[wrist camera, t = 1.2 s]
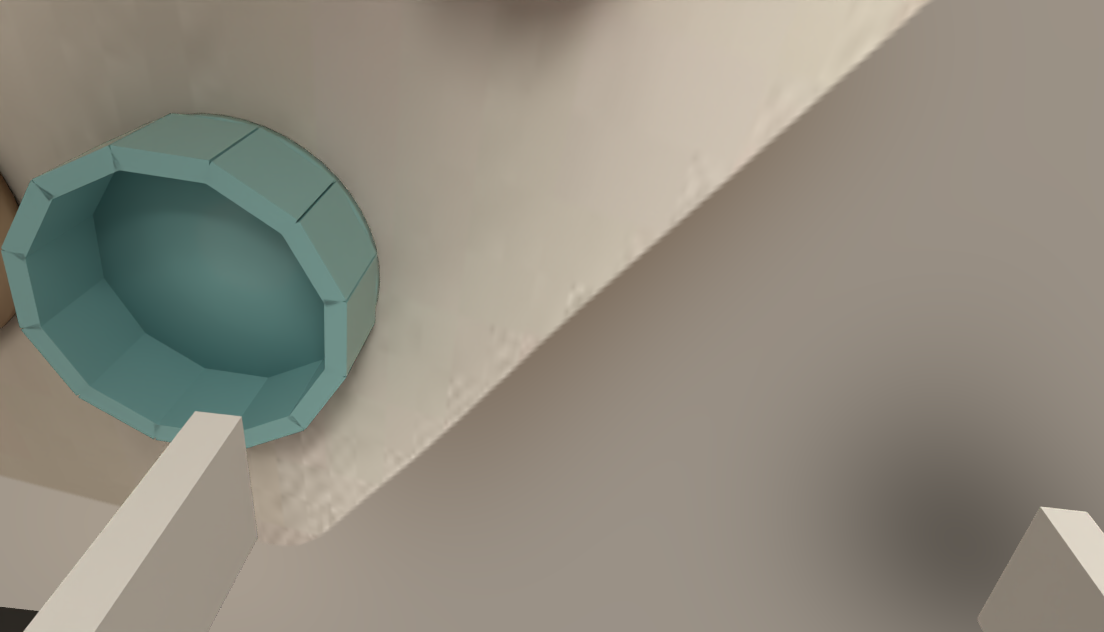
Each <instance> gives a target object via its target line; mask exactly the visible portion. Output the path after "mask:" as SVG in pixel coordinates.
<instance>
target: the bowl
mask: <svg viewBox="0 0 1104 632" xmlns="http://www.w3.org/2000/svg"><path fill="white" fill-rule="evenodd" d="M1 249H2V250H1V253H2V257H3V261H4V265H5V269H6V273H7V278H8V282H9V286H10V290H11V294H12V298H13V302H14V306H15V310H16V314H17V318H18V322H19V327H20V328H23V329H21V330H22V332H23V333H24V334H25V335H26V336H27V338H28V339H29V340H30V341H31V342H32V343H33V345H34V346H35V347H36V348H37V349H38V351H39V352H40V353H41V354H42V355H43V357H44V358H45V359H46V360H47V361H48V363H49V364H50V365H51V366H52V367H53V368H54V370H55V371H56V372H57V373H58V374H59V376H60V377H61V378H62V379H63V380H64V382H65V383H66V384H67V385H68V386H69V388H70V389H71V390H72V391H73V392H74V393H75V395H76V396H77V395H79V398H81V399H82V400H84V401H86V402H88V403H90V404H91V405H93V406H95V407H97V408H98V409H100V410H102V411H104V412H106V413H107V414H109V415H111V416H113V417H115V418H116V419H118V420H120V421H122V422H124V423H125V424H127V425H129V426H131V427H133V428H134V429H136V430H138V431H140V432H142V433H143V434H145V435H147V436H149V437H151V438H152V439H154V438H156V440H160V441H166V442H172V440H173V439H174V438H175V436H176V435H177V434H178V433H179V431H180V430H181V429H182V427H183V426H184V425H185V424H186V422H187V421H188V420H189V418H190V417H191V416H192V415H193V413H194V412H195V411H198V412H207V413H216V414H225V415H234V416H242V422H243V430H244V437H245V445H246V448H249V447H252V446H255V445H259V444H262V443H265V442H268V441H272V440H275V439H278V438H281V437H284V436H288V435H291V434H294V433H297V432H300V431H304V429H306V428H307V427H308V425H309V424H310V423H311V422H312V420H313V419H314V418H315V417H316V415H317V414H318V413H319V411H320V410H321V409H322V408H323V406H324V405H325V404H326V403H327V401H328V400H329V399H330V398H331V396H332V395H333V394H334V392H335V391H336V390H337V389H338V387H339V386H340V385H341V384H342V382H343V381H344V380H345V379H346V377H347V375H348V373H349V371H350V369H351V367H352V365H353V364H354V362H355V360H356V358H357V356H358V354H359V352H360V350H361V348H362V346H363V345H364V343H365V341H366V339H367V337H368V335H369V333H370V331H371V329H372V327H373V325H374V323H375V308H376V305H377V301H378V295H379V286H380V273H379V261H378V256H377V251H376V246H375V243H374V240H373V237H372V234H371V231H370V228H369V226H368V224H367V222H366V220H365V218H364V216H363V213H362V211H361V210H360V208H359V207H358V205H357V203H356V202H355V200H354V199H353V197H352V196H351V194H350V193H349V192H348V190H347V189H346V188H345V187H344V185H343V184H342V183H341V182H340V180H339V179H338V178H337V177H336V176H335V175H334V174H333V173H332V172H331V171H330V170H329V169H328V168H327V167H326V166H325V165H324V164H323V163H322V162H321V161H320V160H318V159H317V158H316V157H315V156H313V155H312V154H311V153H309V152H308V151H307V150H306V149H304V148H303V147H301V146H300V145H298V144H296V143H295V142H293V141H292V140H290V139H288V138H287V137H285V136H283V135H281V134H279V133H277V132H275V131H273V130H271V129H269V128H267V127H264V126H261V125H258V124H255V123H253V122H250V121H247V120H243V119H239V118H234V117H230V116H225V115H217V114H206V113H196V114H176V113H172V114H171V113H170V114H168V115H166V116H163V117H161V118H159V119H157V120H154V121H152V122H150V123H147V124H144V125H142V126H140V127H139V128H137V129H134V130H132V131H130V132H128V133H125V134H123V135H121V136H119V137H116V138H114V139H112V140H110V141H107V142H105V143H103V144H101V145H99V146H97V147H95V148H93V149H91V150H89V151H87V152H85V153H83V154H81V155H79V156H77V157H75V158H73V159H71V160H69V161H67V162H65V163H63V164H61V165H59V166H57V167H55V168H53V169H51V170H49V171H47V172H45V173H43V174H41V175H39V176H38V177H36V178H34V179H32V180H31V181H30V183H29V186H28V188H27V190H26V192H25V195H24V197H23V199H22V201H21V204H20V206H19V208H18V211H17V213H16V215H15V217H14V220H13V222H12V224H11V227H10V229H9V231H8V233H7V236H6V238H5V240H4V242H3V245H2V247H1Z"/></svg>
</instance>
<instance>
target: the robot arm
mask: <svg viewBox="0 0 1104 632" xmlns="http://www.w3.org/2000/svg"><path fill="white" fill-rule="evenodd" d="M257 538H258V534H257V526H256V519H255V511H254V504H253V497H252V489H251V482H250V474H249V467H248V460H247V452H246V445H245V437H244V430H243V422H242V416H234V415H225V414H216V413H207V412H198V411H195V412H194V413H193V415H192V416H191V417H190V418H189V420H188V421H187V422H186V424H185V425H184V426H183V427H182V429H181V430H180V431H179V433H178V434H177V435H176V436H175V438H174V439H173V440H172V442H171V443H170V444H169V445H168V447H167V448H166V449H165V450H164V452H163V453H162V454H161V456H160V457H159V458H158V459H157V461H156V462H155V463H154V465H153V466H152V467H151V468H150V470H149V471H148V472H147V474H146V475H145V476H144V477H143V479H142V480H141V481H140V483H139V484H138V485H137V486H136V488H135V489H134V490H133V492H132V493H131V494H130V495H129V497H128V498H127V499H126V501H125V502H124V503H123V504H122V506H121V507H120V508H119V509H118V511H117V512H116V513H115V515H114V516H113V517H112V519H111V520H110V521H109V522H108V524H107V525H106V526H105V527H104V529H103V530H102V531H101V533H100V534H99V535H98V536H97V538H96V539H95V540H94V542H93V543H92V544H91V545H90V547H89V548H88V549H87V551H86V552H85V553H84V554H83V556H82V557H81V558H80V560H79V561H78V562H77V563H76V565H75V566H74V567H73V568H72V570H71V571H70V572H69V574H68V575H67V576H66V578H65V579H64V580H63V581H62V583H61V584H60V585H59V586H58V588H57V589H56V591H55V592H54V593H53V594H52V595H51V597H50V598H49V599H48V601H47V602H46V603H45V605H44V606H43V607H42V608H41V610H40V611H33V610H24V609H15V608H6V607H0V632H208V631H209V629H210V627H211V625H212V623H213V621H214V619H215V618H216V616H217V614H218V612H219V610H220V608H221V606H222V604H223V602H224V601H225V599H226V597H227V595H228V593H229V591H230V589H231V587H232V586H233V583H234V582H235V580H236V578H237V576H238V574H239V572H240V570H241V569H242V567H243V565H244V563H245V561H246V559H247V557H248V555H249V554H250V551H251V550H252V548H253V546H254V544H255V542H256V540H257ZM977 620H978V622H979V624H980V626H981V628H982V630H983V632H1104V533H1103V532H1102V531H1101V530H1100V528H1099V527H1098V526H1097V524H1096V523H1095V522H1094V520H1093V519H1092V518H1091V517H1090V515H1089V514H1088V513H1087V512H1083V511H1074V510H1065V509H1056V508H1048V507H1040V508H1039V510H1038V512H1037V513H1036V515H1035V517H1034V519H1033V520H1032V522H1031V524H1030V526H1029V528H1028V529H1027V531H1026V533H1025V534H1024V536H1023V538H1022V540H1021V542H1020V543H1019V545H1018V547H1017V549H1016V550H1015V552H1014V554H1013V556H1012V558H1011V559H1010V561H1009V563H1008V565H1007V566H1006V568H1005V570H1004V572H1003V573H1002V575H1001V577H1000V579H999V580H998V582H997V584H996V586H995V588H994V589H993V591H992V593H991V595H990V596H989V598H988V600H987V602H986V603H985V605H984V607H983V609H982V610H981V612H980V614H979V616H978V618H977Z"/></svg>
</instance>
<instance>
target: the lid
mask: <svg viewBox="0 0 1104 632" xmlns="http://www.w3.org/2000/svg"><path fill="white" fill-rule="evenodd" d="M17 211H18V206H17V203H16V201H15V199H14V196H13V195H12V193H11V191H10V189H9V188H8V186H7V184H6V182H5V180H4V179H3V177H2V175H1V174H0V328H2V327H3V326H4V325H6V324H7V323H8V322H9V320H10V319H11V318H12V317H13V316H14V315H15V314H16V310H15V306H14V302H13V298H12V294H11V290H10V286H9V282H8V278H7V273H6V269H5V265H4V261H3V257H2V253H1V250H2V249H1V247H2V245H3V242H4V240H5V238H6V236H7V233H8V231H9V229H10V227H11V224H12V222H13V220H14V217H15V215H16V213H17Z"/></svg>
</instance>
